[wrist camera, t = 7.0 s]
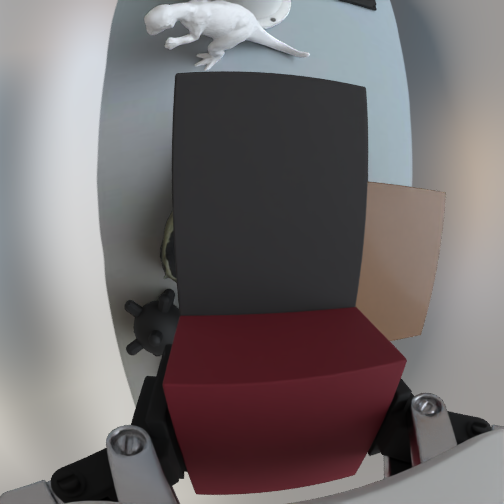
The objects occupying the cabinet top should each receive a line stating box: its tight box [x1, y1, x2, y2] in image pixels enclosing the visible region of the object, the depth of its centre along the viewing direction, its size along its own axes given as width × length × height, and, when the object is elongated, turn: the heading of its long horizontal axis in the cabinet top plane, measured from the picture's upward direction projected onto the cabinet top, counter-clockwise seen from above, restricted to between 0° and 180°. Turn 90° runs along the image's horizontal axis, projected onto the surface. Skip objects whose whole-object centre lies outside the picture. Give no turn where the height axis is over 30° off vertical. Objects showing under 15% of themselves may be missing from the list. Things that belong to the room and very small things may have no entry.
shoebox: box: [356, 182, 446, 341], centre depth 32 cm, size 16×10×16 cm, turn 179°
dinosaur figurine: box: [144, 0, 309, 71], centre depth 25 cm, size 20×10×15 cm, turn 90°
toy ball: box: [125, 289, 180, 356], centre depth 36 cm, size 11×11×12 cm
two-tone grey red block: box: [162, 72, 407, 495], centre depth 8 cm, size 14×6×5 cm, turn 0°
